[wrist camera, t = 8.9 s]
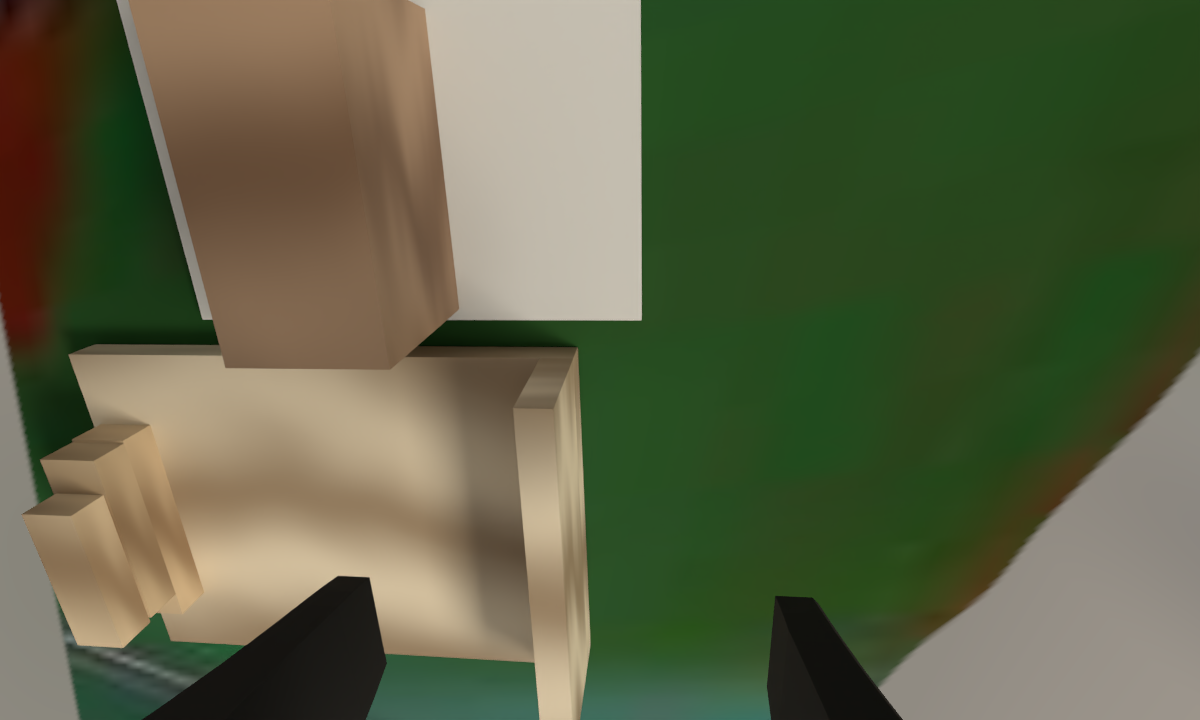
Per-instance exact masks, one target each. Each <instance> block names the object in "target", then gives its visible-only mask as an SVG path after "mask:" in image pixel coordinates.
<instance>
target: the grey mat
mask: <svg viewBox="0 0 1200 720" xmlns="http://www.w3.org/2000/svg"><path fill="white" fill-rule="evenodd" d="M116 1H117V4H118V8H119V12H120V15H121V19H122V23H123V27H124V30H125V34H126V38H127V41H128V45H129V49H130V52H131V56H132V60H133V64H134V67H135V71H136V75H137V78H138V82H139V86H140V89H141V93H142V97H143V101H144V104H145V108H146V112H147V115H148V119H149V123H150V127H151V130H152V134H153V138H154V141H155V145H156V149H157V152H158V156H159V160H160V164H161V167H162V171H163V175H164V178H165V182H166V186H167V190H168V193H169V197H170V201H171V204H172V208H173V212H174V215H175V219H176V223H177V227H178V230H179V234H180V238H181V241H182V245H183V249H184V253H185V256H186V260H187V264H188V267H189V271H190V275H191V278H192V282H193V286H194V290H195V293H196V297H197V301H198V304H199V308H200V312H201V316H202V319H203V320H213V319H212V315H211V312H210V308H209V304H208V300H207V296H206V293H205V289H204V285H203V281H202V278H201V274H200V270H199V266H198V262H197V259H196V255H195V251H194V247H193V244H192V240H191V236H190V232H189V228H188V225H187V221H186V217H185V213H184V210H183V206H182V202H181V198H180V194H179V191H178V187H177V183H176V179H175V176H174V172H173V168H172V164H171V160H170V157H169V153H168V149H167V145H166V141H165V138H164V134H163V130H162V126H161V123H160V119H159V115H158V111H157V107H156V104H155V100H154V96H153V92H152V89H151V85H150V81H149V77H148V73H147V70H146V66H145V62H144V58H143V55H142V51H141V47H140V43H139V39H138V36H137V32H136V28H135V24H134V21H133V17H132V13H131V9H130V5H129V2H128V0H116ZM409 1H411V2H413V3H415V4H417V5H418V6H420V7H422V8H424V9H425V14H426V23H427V31H428V40H429V49H430V58H431V66H432V75H433V84H434V92H435V101H436V110H437V119H438V127H439V136H440V145H441V154H442V162H443V171H444V180H445V189H446V197H447V206H448V215H449V224H450V232H451V241H452V250H453V259H454V267H455V276H456V285H457V294H458V302H459V310H458V311H457V312H456V313H454V314H453V315H452V316H451V317H450V318H449V319H448V320H642V220H641V0H409Z"/></svg>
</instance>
